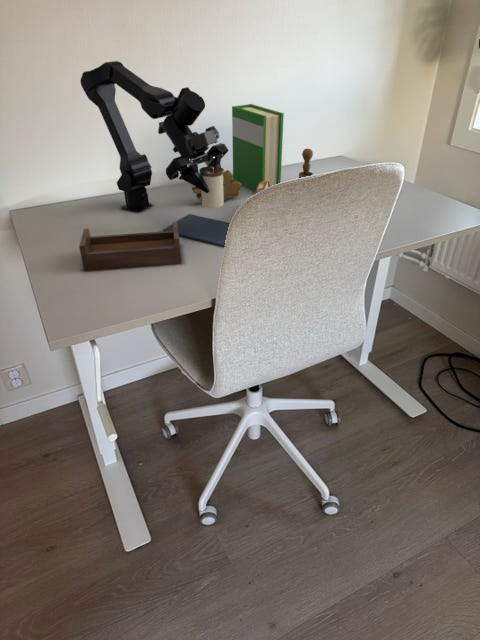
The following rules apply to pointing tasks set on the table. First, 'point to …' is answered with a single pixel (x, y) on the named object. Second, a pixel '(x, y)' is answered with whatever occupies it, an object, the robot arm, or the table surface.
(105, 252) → the brown wooden tray
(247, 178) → the hardback book
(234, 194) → the wooden carving
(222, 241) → the mat
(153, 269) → the table surface
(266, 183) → the tin
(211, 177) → the canister
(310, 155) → the brown wooden pawn
